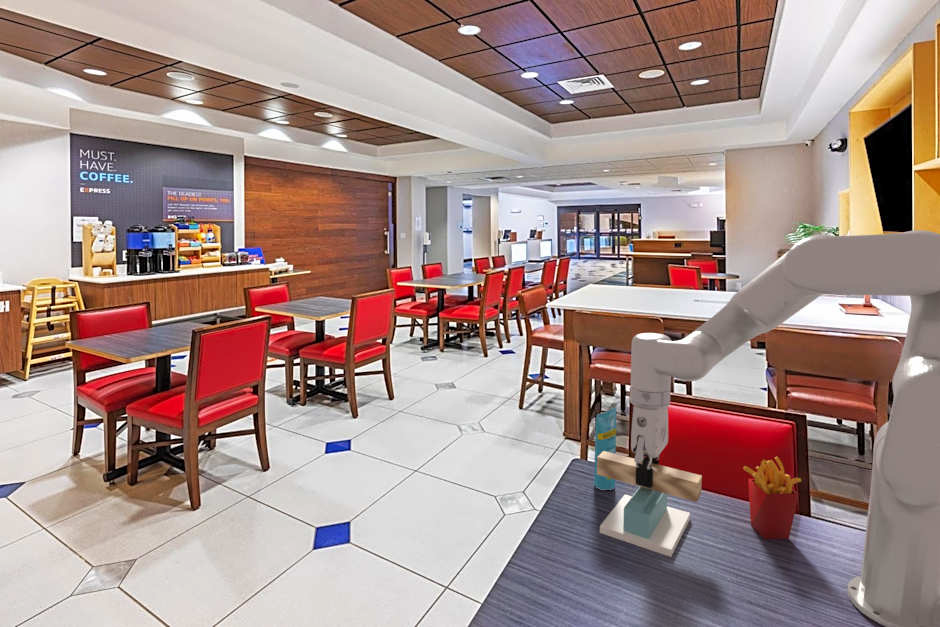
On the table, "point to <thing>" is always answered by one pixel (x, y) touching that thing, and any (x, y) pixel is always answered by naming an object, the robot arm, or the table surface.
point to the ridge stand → (646, 521)
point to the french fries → (772, 500)
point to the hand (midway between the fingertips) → (647, 480)
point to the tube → (605, 444)
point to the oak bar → (663, 476)
